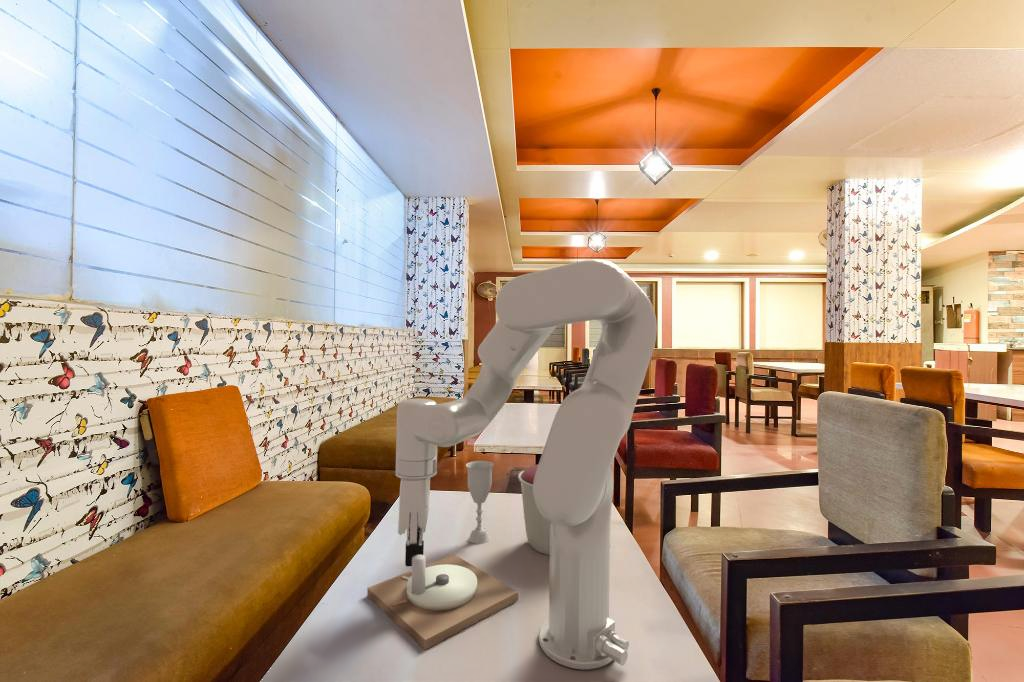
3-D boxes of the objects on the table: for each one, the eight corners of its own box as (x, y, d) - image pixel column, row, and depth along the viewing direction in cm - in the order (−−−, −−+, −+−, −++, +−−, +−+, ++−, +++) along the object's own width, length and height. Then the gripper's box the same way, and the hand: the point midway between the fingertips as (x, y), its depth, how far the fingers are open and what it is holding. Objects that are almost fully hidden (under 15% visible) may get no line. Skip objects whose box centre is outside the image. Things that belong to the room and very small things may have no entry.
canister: (506, 557, 101) (507, 462, 101) (529, 525, 118) (530, 445, 118) (587, 571, 95) (589, 471, 95) (599, 536, 112) (600, 451, 112)
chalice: (488, 547, 106) (489, 469, 106) (460, 544, 107) (461, 468, 107) (496, 533, 113) (497, 461, 113) (470, 531, 114) (470, 459, 114)
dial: (452, 565, 94) (453, 529, 94) (491, 592, 84) (491, 552, 84) (394, 587, 85) (394, 547, 85) (429, 619, 76) (430, 575, 76)
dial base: (517, 600, 84) (517, 591, 84) (425, 649, 71) (425, 638, 71) (454, 561, 99) (454, 553, 99) (367, 595, 85) (367, 586, 85)
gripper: (399, 455, 91) (397, 546, 91) (391, 478, 76) (388, 587, 77) (437, 455, 92) (435, 544, 93) (436, 477, 78) (433, 584, 78)
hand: (414, 563), depth 85 cm, fingers closed
